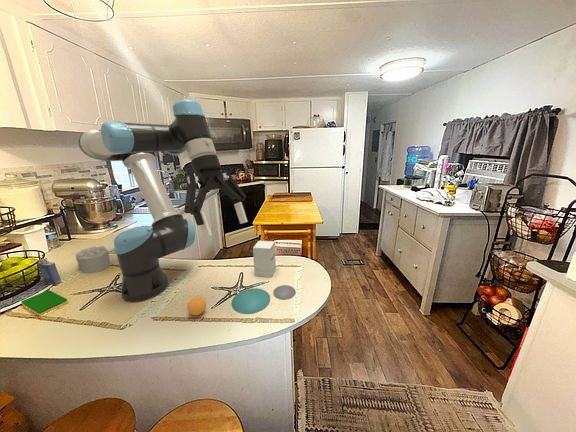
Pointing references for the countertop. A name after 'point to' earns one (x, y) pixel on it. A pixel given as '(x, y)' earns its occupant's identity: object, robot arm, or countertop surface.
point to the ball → (196, 305)
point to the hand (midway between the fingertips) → (227, 229)
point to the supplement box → (264, 258)
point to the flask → (49, 271)
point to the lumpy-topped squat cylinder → (93, 259)
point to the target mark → (250, 301)
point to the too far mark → (284, 292)
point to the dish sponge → (44, 302)
